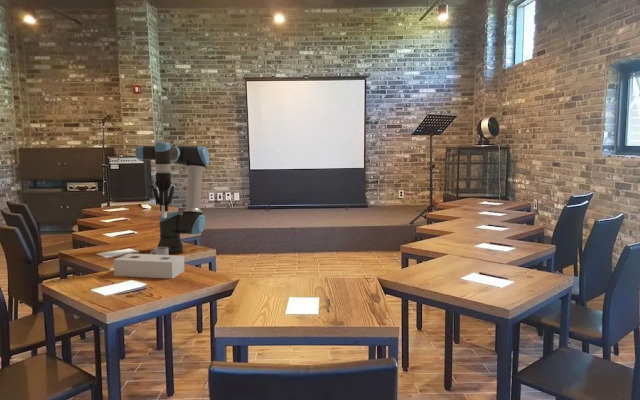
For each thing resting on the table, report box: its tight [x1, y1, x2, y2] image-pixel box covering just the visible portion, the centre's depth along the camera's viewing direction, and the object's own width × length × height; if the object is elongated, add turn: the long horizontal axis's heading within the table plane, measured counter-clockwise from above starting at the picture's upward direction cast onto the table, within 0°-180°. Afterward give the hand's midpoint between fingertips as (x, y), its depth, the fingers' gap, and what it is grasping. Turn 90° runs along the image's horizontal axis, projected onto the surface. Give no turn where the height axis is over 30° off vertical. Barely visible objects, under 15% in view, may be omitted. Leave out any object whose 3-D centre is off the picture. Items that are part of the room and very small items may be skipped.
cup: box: [149, 246, 170, 255], centre depth 256 cm, size 7×10×9 cm
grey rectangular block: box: [113, 253, 185, 279], centre depth 237 cm, size 14×30×8 cm, turn 82°
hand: (164, 217), depth 247 cm, fingers closed
